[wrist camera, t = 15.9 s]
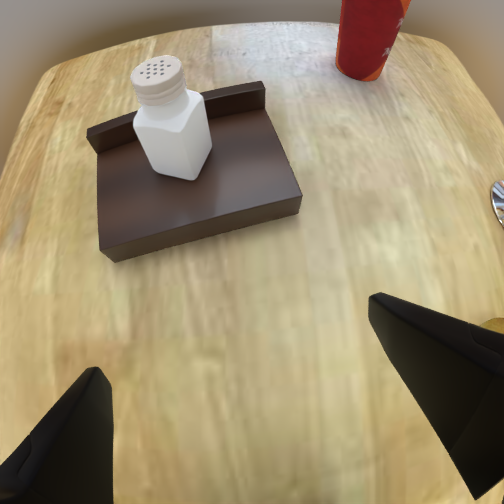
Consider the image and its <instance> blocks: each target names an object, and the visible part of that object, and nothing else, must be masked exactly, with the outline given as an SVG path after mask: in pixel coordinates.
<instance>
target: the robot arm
mask: <svg viewBox="0 0 504 504" xmlns="http://www.w3.org/2000/svg"><path fill="white" fill-rule="evenodd" d="M368 317H369V321H370V324H371V325H372V327H373V329H374V331H375V333H376V335H377V337H378V339H379V341H380V343H381V345H382V347H383V349H384V351H385V353H386V354H387V356H388V358H389V360H390V361H391V363H392V364H393V366H394V367H395V369H396V370H397V372H398V373H399V375H400V376H401V378H402V380H403V381H404V383H405V384H406V386H407V387H408V389H409V390H410V392H411V393H412V395H413V397H414V398H415V400H416V401H417V403H418V404H419V406H420V408H421V409H422V411H423V412H424V414H425V416H426V417H427V419H428V420H429V422H430V424H431V425H432V427H433V429H434V430H435V432H436V434H437V435H438V437H439V438H440V440H441V442H442V443H443V445H444V447H445V449H446V450H447V452H448V453H449V456H450V457H451V459H452V461H453V462H454V464H455V466H456V468H457V469H458V471H459V473H460V475H461V476H462V478H463V480H464V482H465V484H466V485H467V487H468V489H469V491H470V493H471V494H472V496H473V498H474V499H475V500H477V499H479V498H480V497H481V496H483V495H484V494H485V493H487V492H488V491H489V490H490V489H492V488H493V487H494V486H495V485H497V484H498V483H499V482H500V481H501V480H503V479H504V334H503V333H499V332H495V331H492V330H489V329H486V328H483V327H479V326H477V325H474V324H471V323H469V324H468V322H465V321H462V320H459V319H457V318H454V317H451V316H448V315H445V314H442V313H439V312H437V311H434V310H431V309H428V308H425V307H422V306H419V305H416V304H414V303H411V302H408V301H405V300H402V299H399V298H396V297H394V296H391V295H388V294H385V293H382V292H379V293H376V294H373V295H371V296H370V297H369V307H368ZM113 434H114V424H113V405H112V387H111V384H110V382H109V381H108V379H107V378H106V376H105V375H104V373H103V372H102V370H101V369H100V368H99V367H90V368H87V369H86V370H85V371H84V372H83V373H82V374H81V375H80V376H79V378H78V379H77V380H76V381H75V382H74V383H73V384H72V385H71V386H70V388H69V389H68V390H67V391H66V392H65V393H64V394H63V395H62V397H61V398H60V399H59V400H58V401H57V402H56V403H55V404H54V406H53V407H52V408H51V409H50V410H49V411H48V412H47V414H46V415H45V416H44V417H43V418H42V419H41V421H40V422H39V423H38V424H37V425H36V426H35V428H34V429H33V430H32V431H31V432H30V435H28V436H27V437H26V438H25V439H24V441H23V442H22V443H21V444H20V445H19V446H18V447H17V449H16V450H15V451H14V452H13V453H12V454H11V455H10V456H9V457H8V458H7V459H6V460H5V461H4V462H3V463H2V464H1V465H0V504H114V503H113ZM502 504H504V496H503V500H502Z"/></svg>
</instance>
